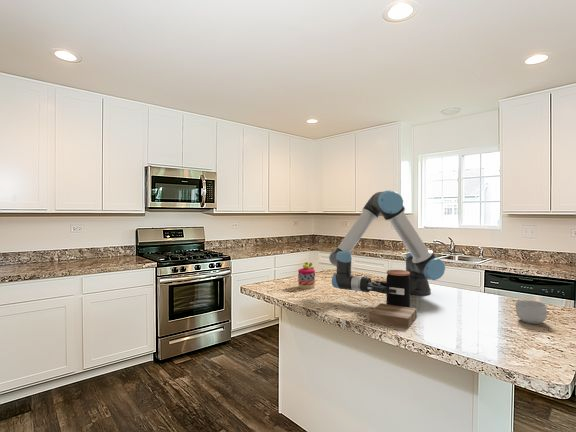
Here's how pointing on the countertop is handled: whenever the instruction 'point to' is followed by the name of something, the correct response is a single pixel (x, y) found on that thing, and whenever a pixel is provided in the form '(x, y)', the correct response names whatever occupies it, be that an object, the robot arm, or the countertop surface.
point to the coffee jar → (399, 281)
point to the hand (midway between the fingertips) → (407, 289)
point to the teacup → (531, 311)
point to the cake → (306, 277)
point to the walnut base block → (393, 315)
